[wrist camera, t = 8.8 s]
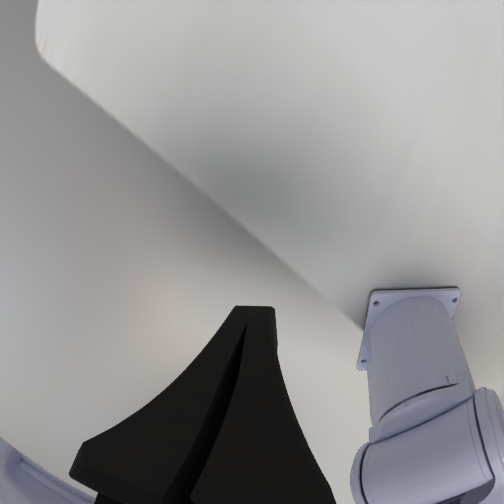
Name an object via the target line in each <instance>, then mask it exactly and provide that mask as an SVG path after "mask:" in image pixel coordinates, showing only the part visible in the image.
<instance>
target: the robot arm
mask: <svg viewBox="0 0 504 504" xmlns="http://www.w3.org/2000/svg"><path fill="white" fill-rule="evenodd" d="M460 297H461V291H460V289H459V288H445V289H420V290H384V291H374V292H373V293H372V294H371V295H370V301H369V307H368V313H367V318H366V323H365V329H364V334H363V339H362V344H361V348H360V353H359V357H358V361H357V369H358V370H367V374H368V386H369V398H370V416H371V422H372V425H373V427H371V428H369V442H367V443H365V444H364V445H363V446H361V447H360V449H359V450H358V452H357V453H356V455H355V458H354V461H353V465H352V468H351V474H350V486H351V492H352V496H353V499H354V501H355V503H356V504H504V410H503V408H502V405H501V403H500V400H499V398H498V396H497V394H496V393H495V391H494V390H491V389H487V388H486V387H481V388H479V389H478V390H476V389H475V385H474V382H473V379H472V376H471V373H470V370H469V367H468V364H467V361H466V358H465V355H464V353H463V350H462V347H461V345H460V342H459V339H458V337H457V334H456V332H455V329H454V327H453V324H452V322H451V321H452V318H453V316H454V313H455V311H456V308H457V305H458V303H459V300H460ZM454 298H455V299H454ZM453 299H454V300H453ZM375 301H378V302H377V303H374V302H375ZM277 345H278V343H277V329H276V318H275V309H274V308H273V307H270V306H235V307H234V308H233V310H232V311H231V312H230V314H229V315H228V317H227V319H226V320H225V321H224V323H223V324H222V325H221V327H220V328H219V329H218V331H217V332H216V334H215V335H214V336H213V337H212V339H211V340H210V341H209V343H208V344H207V345H206V346H205V348H204V349H203V350H202V351H201V353H200V354H199V355H198V356H197V357H196V358H195V359H194V360H193V361H192V363H191V364H190V365H189V366H188V367H187V368H186V370H184V371H183V372H182V373H181V374H180V375H179V377H177V378H176V379H175V380H174V381H173V382H172V383H171V384H170V385H169V386H168V387H167V388H166V389H165V390H164V391H162V392H161V393H160V394H159V395H158V396H156V397H155V398H154V399H153V400H152V401H150V402H149V403H148V404H146V405H145V406H144V407H143V408H141V409H140V410H138V411H137V412H135V413H134V414H132V415H131V416H129V417H128V418H126V419H125V420H123V421H122V422H120V423H119V424H117V425H115V426H114V427H112V428H110V429H109V430H107V431H105V432H103V433H101V434H99V435H97V436H95V437H93V438H91V439H89V440H87V441H85V442H83V444H82V445H81V447H80V449H79V451H78V453H77V456H76V458H75V460H74V462H73V465H72V467H71V469H70V472H69V475H70V477H71V478H72V479H74V480H76V481H78V482H80V483H81V484H83V485H85V486H87V487H89V488H91V489H92V490H94V491H96V492H98V494H97V497H96V498H94V497H92V496H90V495H88V494H86V493H84V492H82V491H80V490H79V489H77V488H75V487H73V486H71V485H70V484H67V483H66V482H64V481H63V480H61V479H59V478H58V477H56V476H54V475H52V474H51V473H49V472H48V471H46V470H45V469H44V468H43V467H41V466H39V465H38V464H37V463H35V462H34V461H32V460H31V459H29V458H28V457H27V456H25V455H24V454H22V453H21V452H19V451H18V450H17V449H15V448H14V447H13V446H11V445H10V444H9V443H7V442H6V441H5V440H4V439H2V438H1V437H0V501H1V502H2V504H336V501H335V499H334V496H333V493H332V490H331V487H330V485H329V484H328V482H327V480H326V478H325V477H324V475H323V473H322V471H321V469H320V467H319V466H318V464H317V462H316V460H315V458H314V456H313V454H312V452H311V450H310V448H309V446H308V443H307V441H306V439H305V437H304V434H303V432H302V430H301V427H300V425H299V423H298V421H297V418H296V415H295V413H294V410H293V407H292V405H291V402H290V399H289V396H288V393H287V390H286V386H285V383H284V380H283V376H282V372H281V369H280V364H279V361H278V355H277Z"/></svg>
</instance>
